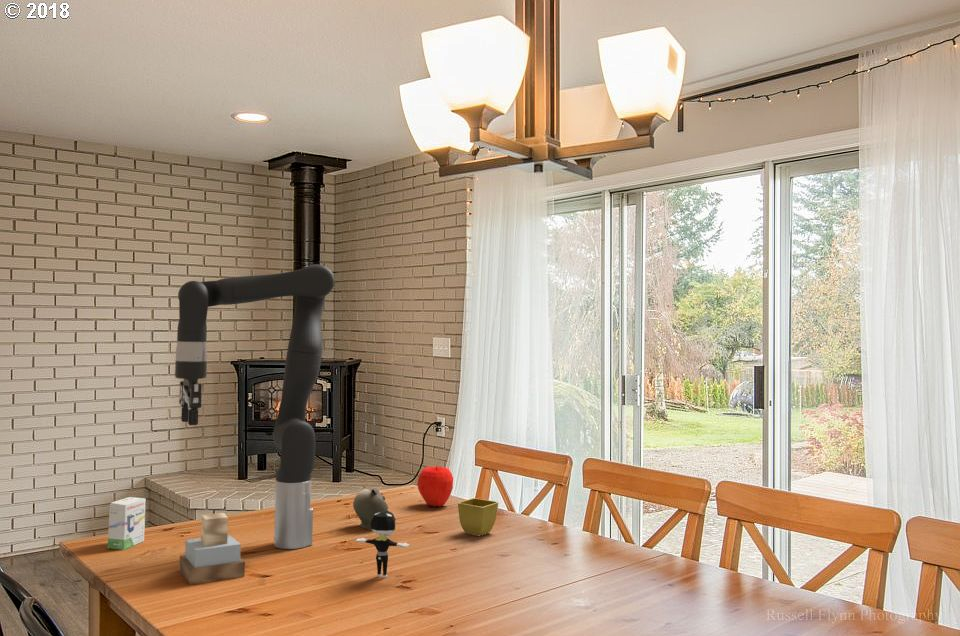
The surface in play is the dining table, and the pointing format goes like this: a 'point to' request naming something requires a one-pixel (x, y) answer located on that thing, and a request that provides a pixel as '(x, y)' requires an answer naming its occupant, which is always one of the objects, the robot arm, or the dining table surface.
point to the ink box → (126, 523)
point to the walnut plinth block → (211, 571)
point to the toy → (382, 539)
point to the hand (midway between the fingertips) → (189, 423)
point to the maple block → (214, 529)
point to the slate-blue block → (212, 552)
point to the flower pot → (477, 515)
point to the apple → (435, 485)
